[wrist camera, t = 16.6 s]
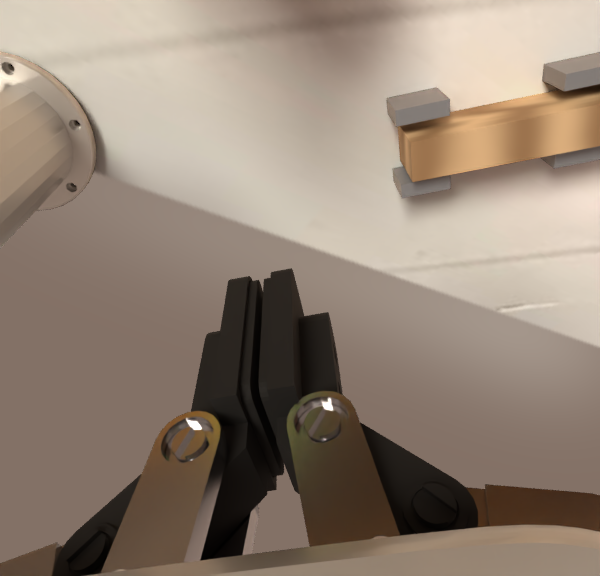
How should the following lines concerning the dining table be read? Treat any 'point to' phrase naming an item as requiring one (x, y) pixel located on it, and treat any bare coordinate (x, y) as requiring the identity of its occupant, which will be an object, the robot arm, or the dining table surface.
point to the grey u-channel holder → (569, 78)
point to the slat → (502, 133)
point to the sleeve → (414, 111)
